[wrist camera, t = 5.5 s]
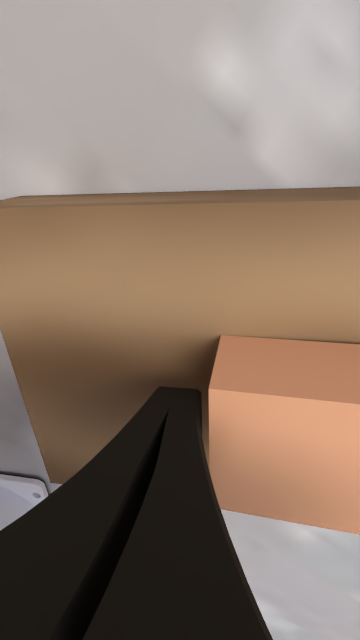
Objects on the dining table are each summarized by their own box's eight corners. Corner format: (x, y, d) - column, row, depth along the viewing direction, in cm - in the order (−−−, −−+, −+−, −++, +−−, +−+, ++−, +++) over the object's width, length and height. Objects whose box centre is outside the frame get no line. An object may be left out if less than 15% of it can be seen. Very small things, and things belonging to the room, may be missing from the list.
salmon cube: (351, 458, 11) (373, 537, 9) (220, 440, 12) (209, 507, 10) (380, 346, 9) (419, 410, 7) (221, 334, 10) (208, 388, 8)
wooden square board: (315, 459, 16) (329, 521, 13) (79, 433, 18) (50, 482, 15) (370, 186, 10) (414, 198, 8) (21, 195, 12) (-40, 208, 10)
